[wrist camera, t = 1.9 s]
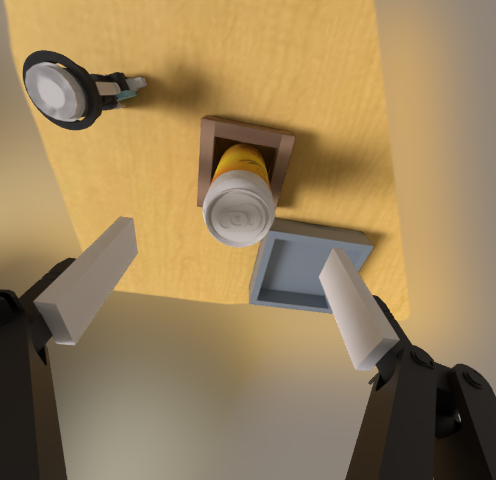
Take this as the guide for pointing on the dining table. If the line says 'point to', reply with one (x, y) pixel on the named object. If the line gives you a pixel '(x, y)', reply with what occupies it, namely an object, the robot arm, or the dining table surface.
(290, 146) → the collar holder
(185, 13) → the dining table surface
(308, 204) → the dining table surface
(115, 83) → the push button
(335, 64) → the dining table surface
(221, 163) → the beer can
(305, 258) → the tray
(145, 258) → the dining table surface
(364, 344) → the robot arm
